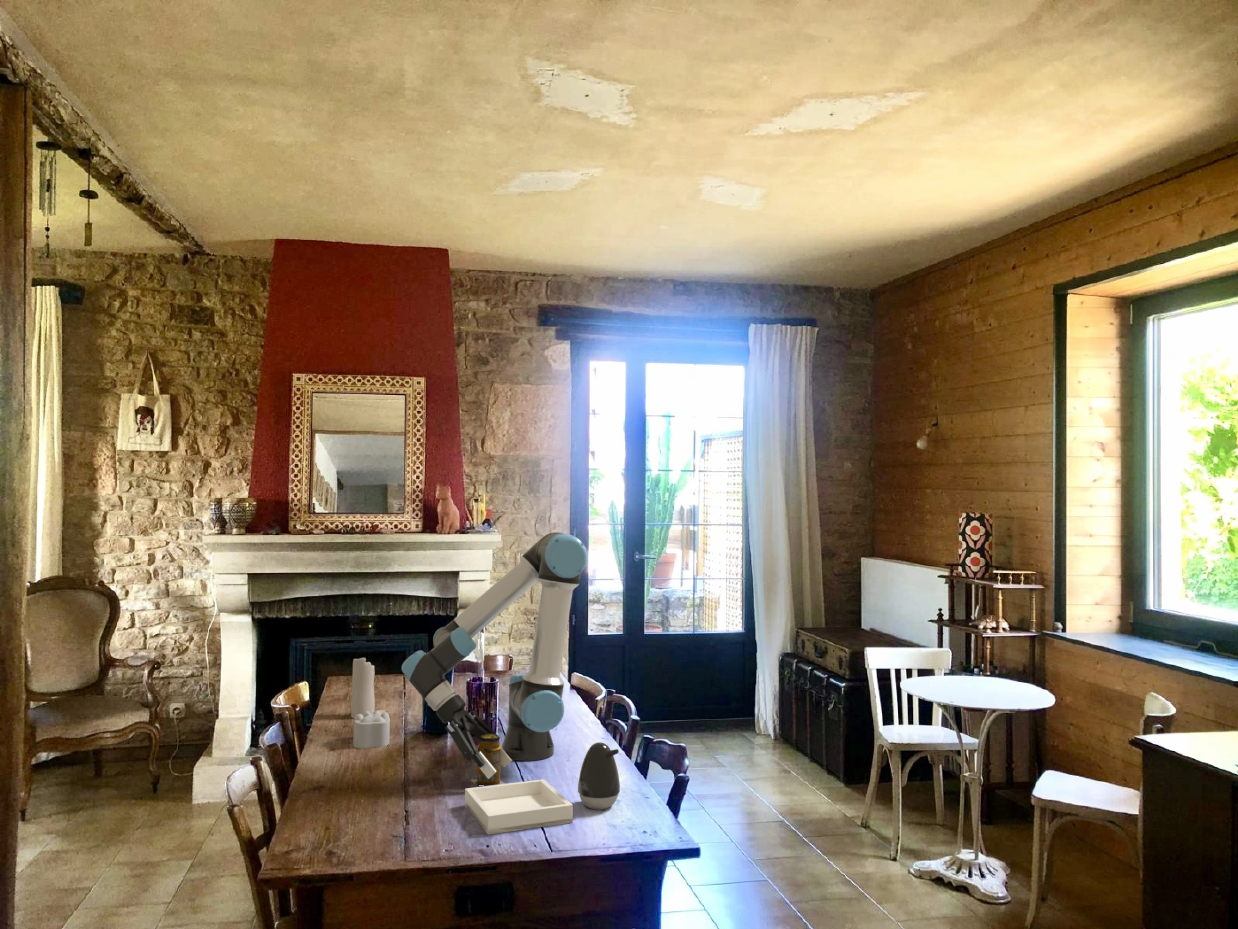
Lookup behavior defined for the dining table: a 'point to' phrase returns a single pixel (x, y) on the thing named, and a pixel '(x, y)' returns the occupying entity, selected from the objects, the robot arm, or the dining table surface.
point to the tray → (518, 806)
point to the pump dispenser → (599, 777)
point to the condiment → (493, 755)
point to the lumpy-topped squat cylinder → (371, 730)
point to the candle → (363, 688)
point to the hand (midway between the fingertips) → (500, 769)
